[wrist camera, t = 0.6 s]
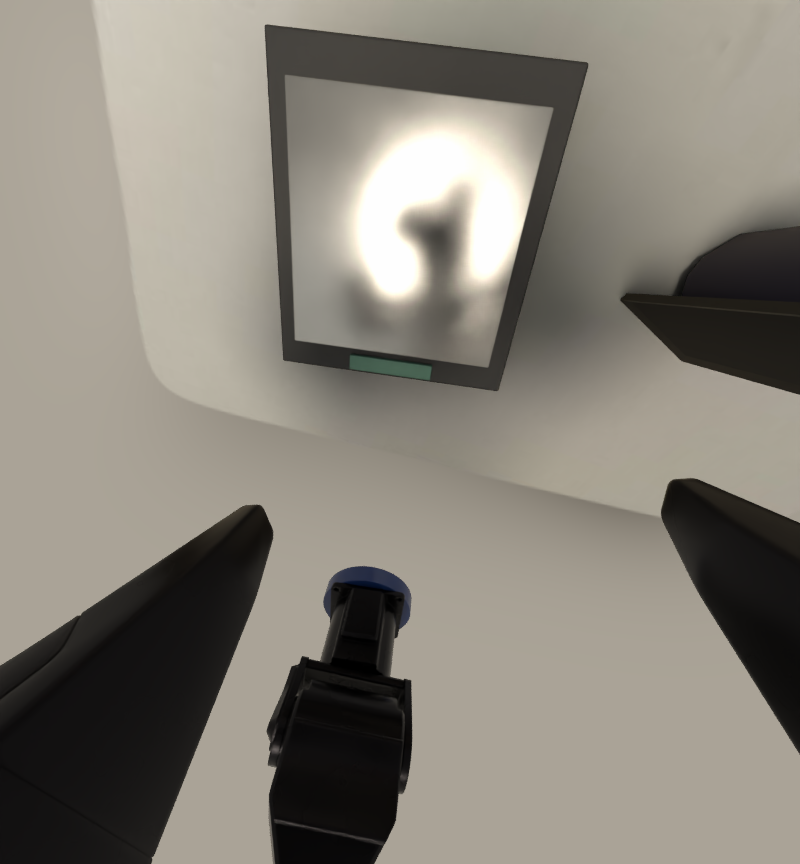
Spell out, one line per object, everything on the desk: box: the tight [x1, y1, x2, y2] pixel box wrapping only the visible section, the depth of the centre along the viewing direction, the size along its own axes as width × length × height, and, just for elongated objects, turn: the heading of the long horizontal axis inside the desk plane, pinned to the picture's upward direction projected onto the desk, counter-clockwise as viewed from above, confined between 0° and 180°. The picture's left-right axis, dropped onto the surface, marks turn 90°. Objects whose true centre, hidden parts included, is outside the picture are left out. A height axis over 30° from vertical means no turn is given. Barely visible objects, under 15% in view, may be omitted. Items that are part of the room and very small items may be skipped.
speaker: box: [621, 226, 800, 395], centre depth 14 cm, size 8×6×10 cm
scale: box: [265, 25, 588, 391], centre depth 17 cm, size 13×12×3 cm
